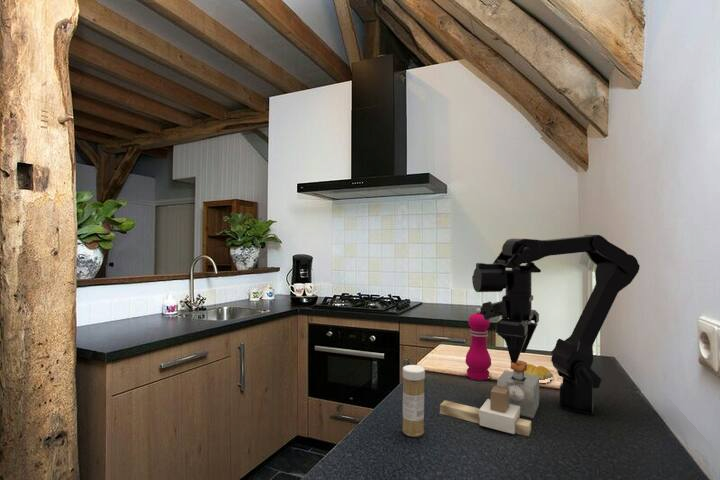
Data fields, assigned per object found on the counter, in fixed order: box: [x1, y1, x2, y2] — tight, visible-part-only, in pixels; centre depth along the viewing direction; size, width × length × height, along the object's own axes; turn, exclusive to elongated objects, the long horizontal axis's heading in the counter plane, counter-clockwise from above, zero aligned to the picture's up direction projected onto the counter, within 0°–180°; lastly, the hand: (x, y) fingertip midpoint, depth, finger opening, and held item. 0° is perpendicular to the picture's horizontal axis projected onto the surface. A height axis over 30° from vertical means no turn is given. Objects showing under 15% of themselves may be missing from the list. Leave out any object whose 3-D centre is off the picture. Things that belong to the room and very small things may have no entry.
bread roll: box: [524, 363, 554, 380], centre depth 115 cm, size 8×9×4 cm
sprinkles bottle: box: [401, 364, 426, 438], centre depth 82 cm, size 5×5×14 cm
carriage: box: [479, 384, 520, 435], centre depth 85 cm, size 7×7×8 cm
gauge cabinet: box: [496, 370, 540, 419], centre depth 94 cm, size 8×8×7 cm
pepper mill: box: [465, 307, 492, 381], centre depth 115 cm, size 7×7×20 cm
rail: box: [439, 399, 532, 437], centre depth 87 cm, size 19×3×2 cm, turn 58°
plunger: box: [510, 359, 528, 381], centre depth 95 cm, size 4×4×6 cm
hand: (518, 357), depth 94 cm, fingers open, 9 cm apart
